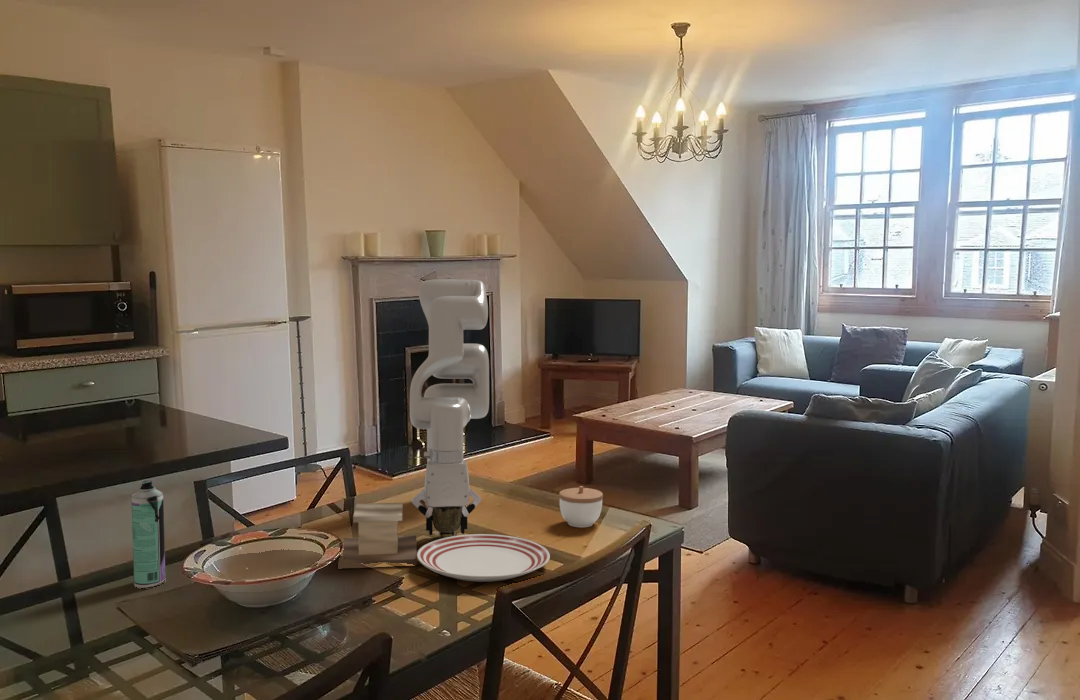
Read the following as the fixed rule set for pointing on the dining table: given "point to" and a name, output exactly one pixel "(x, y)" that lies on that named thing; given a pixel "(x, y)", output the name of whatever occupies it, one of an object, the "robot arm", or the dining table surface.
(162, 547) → the spray can
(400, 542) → the cream pedestal stand
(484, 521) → the dining table surface
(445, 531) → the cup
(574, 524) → the lidded jar
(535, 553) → the dinner plate
